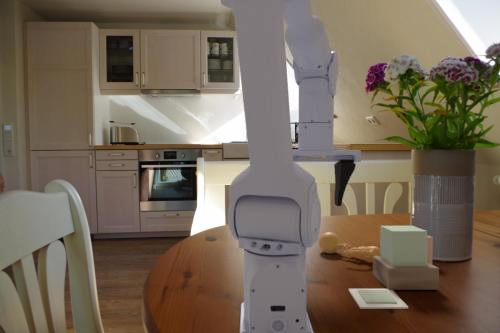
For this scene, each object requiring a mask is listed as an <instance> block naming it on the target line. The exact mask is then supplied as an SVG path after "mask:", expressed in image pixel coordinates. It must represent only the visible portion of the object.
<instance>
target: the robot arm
mask: <svg viewBox="0 0 500 333" xmlns="http://www.w3.org/2000/svg"><path fill="white" fill-rule="evenodd" d="M220 4H221V5H222V6H223V7H227V8H229V9H231V10H232V11H233V16H234V28H235V35H236V36H235V37H236V45H237V54H238V63H239V65H238V66H239V72H240V73H239V74H240V80H241V82H240V83H241V92H242V103H243V110H244V119H245V120H244V122H245V128H246V129H245V130H246V137H247V138H246V140H247V149H248V158H249V159H248V160H249V166H248V167H245V169H243V170H242V171H241V172H240V173H239V174H237V175H236V177H234V179H232V181H231V183H230V185H229V187H228V210H227V225H228V228H229V231H230V233H231V235H232V237H233V238H234V240H236V241H238V248H239V249H243V302H242V303H240V323H239V333H315V332H314V330H313V327H312V323H311V321H310V317H309V313H308V312H307V296H308V295H307V292H308V290H307V282H306V280H307V278H306V277H307V275H306V274H307V249H310V248H312V247H313V246H314V245H315V244H316V243H317V242H318V241H319V238H320V237H319V236H320V233H321V232H320V231H321V222H322V206H321V200H320V197H319V193H318V192H319V191H318V185H317V182H316V178H315V176H314V175H312V174H311V173H310V172H308V171H307V170H306V169H305V168H303V167H302V166H301V165H299V164H298V163H299V162H301V163H302V162H307V163H309V162H310V163H311V162H315V163H318V162H319V163H321V162H322V163H323V162H328V163H329V162H331V163H334V162H335V163H334V164H333V166H334V182H335V184H334V197H333V198H334V200H333V201H334V205H335V206H336V207H342V206H343V205H342V204H343V199H344V195H345V192H346V188H347V185H348V183H349V181H350V178H351V177H352V175H353V173H354V171H355V170H356V165H357V164H356V163H361V162H362V159H361V158H362V150H361V149H334V121H335V119H334V118H335V115H334V114H335V96H336V95H337V83H338V82H337V81H338V78H339V57H338V52H337V51H336V50H334V51H333V50H332V48H331V47H330V43H329V40H328V35H327V32H326V28H325V24H324V22H323V20H322V19H321V18H320V17H318V16H317V15H314V14H313V8H312V3H311V0H220ZM284 22H285V23H286V25H287V27H286V29H285V24H284ZM286 44H287V47H288V49H289V51H290V53H291V54H290V55H291V56H292V68H293V72H294V73H293V74H294V80H295V83H296V85H297V86H298V126H297V127H298V130H297V131H298V136H297V137H298V139H297V140H298V141H297V142H298V143H297V144H298V145H297V149H293V139H292V128H291V112H290V110H291V109H290V98H289V96H290V94H289V84H288V83H289V82H288V70H287V69H288V68H287V66H288V65H287V54H286ZM306 156H307V157H308V156H309V157H310V156H312V157H313V156H314V157H315V156H316V157H322V156H325V158H306ZM297 162H298V163H297Z"/></svg>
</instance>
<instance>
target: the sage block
mask: <svg viewBox="0 0 500 333" xmlns="http://www.w3.org/2000/svg"><path fill="white" fill-rule="evenodd" d="M379 226H380V227H379V233H380V234H379V248H380V258H381V259H382V260H384V261H385V262H387V263H388V264H390V265H391V266H427V235H428V230H426V229H424V228H423V229H422V228H419V227H417V226H415V225H379Z"/></svg>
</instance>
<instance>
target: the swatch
mask: <svg viewBox="0 0 500 333" xmlns="http://www.w3.org/2000/svg"><path fill="white" fill-rule="evenodd" d="M348 292H349V293H350V295H351V297H352V298H353V300H354V301H355V302H356V305H358V307H359V309H361V310H363V309H364V310H365V309H366V310H367V309H368V310H373V309H374V310H376V309H377V310H378V309H386V310H391V309H392V310H394V309H397V310H398V309H399V310H400V309H401V310H402V309H404V310H405V309H407V310H408V309H409V306H408V305H407V304H406V303H405V301H403V300H402V299H401V298H400V296H399V295H398V294H397V293H396V292H395V290H389V289H387V288H348Z"/></svg>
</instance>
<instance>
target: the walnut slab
mask: <svg viewBox="0 0 500 333" xmlns="http://www.w3.org/2000/svg"><path fill="white" fill-rule="evenodd" d="M372 275H373V276H374V277H375V278H376V280H377V281H379V283H380V284H382V285H383V286H384V287H385V289H389V290H393V291H396V290H397V291H398V290H399V291H403V290H404V291H407V290H411V291H412V290H413V291H414V290H415V291H416V290H417V291H418V290H419V291H420V290H421V291H424V290H425V291H427V290H429V291H431V290H432V291H433V290H435V291H436V290H437V291H438V290H440V268H439V267H437V266H435V265H433V263H432V264H430V263H429V262H427V266H391V265H390V264H388V263H387V262H385V261H384V260H382V259H381V258H380V256H373V261H372Z"/></svg>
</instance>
